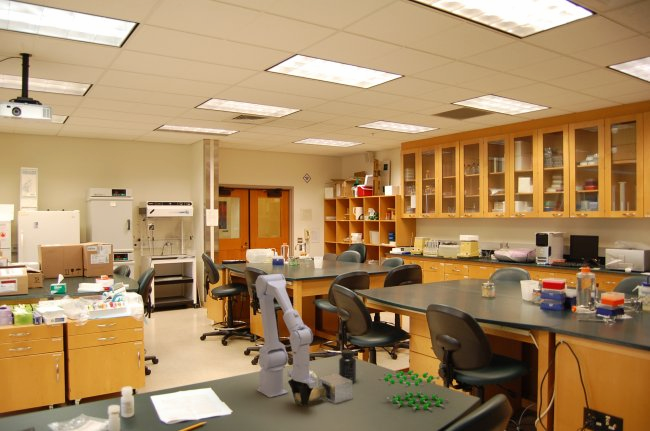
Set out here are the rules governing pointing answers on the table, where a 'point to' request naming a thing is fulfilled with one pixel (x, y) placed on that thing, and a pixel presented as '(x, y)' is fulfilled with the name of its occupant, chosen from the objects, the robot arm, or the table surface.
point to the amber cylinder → (311, 395)
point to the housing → (336, 387)
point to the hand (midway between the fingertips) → (301, 402)
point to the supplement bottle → (347, 365)
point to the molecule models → (410, 392)
